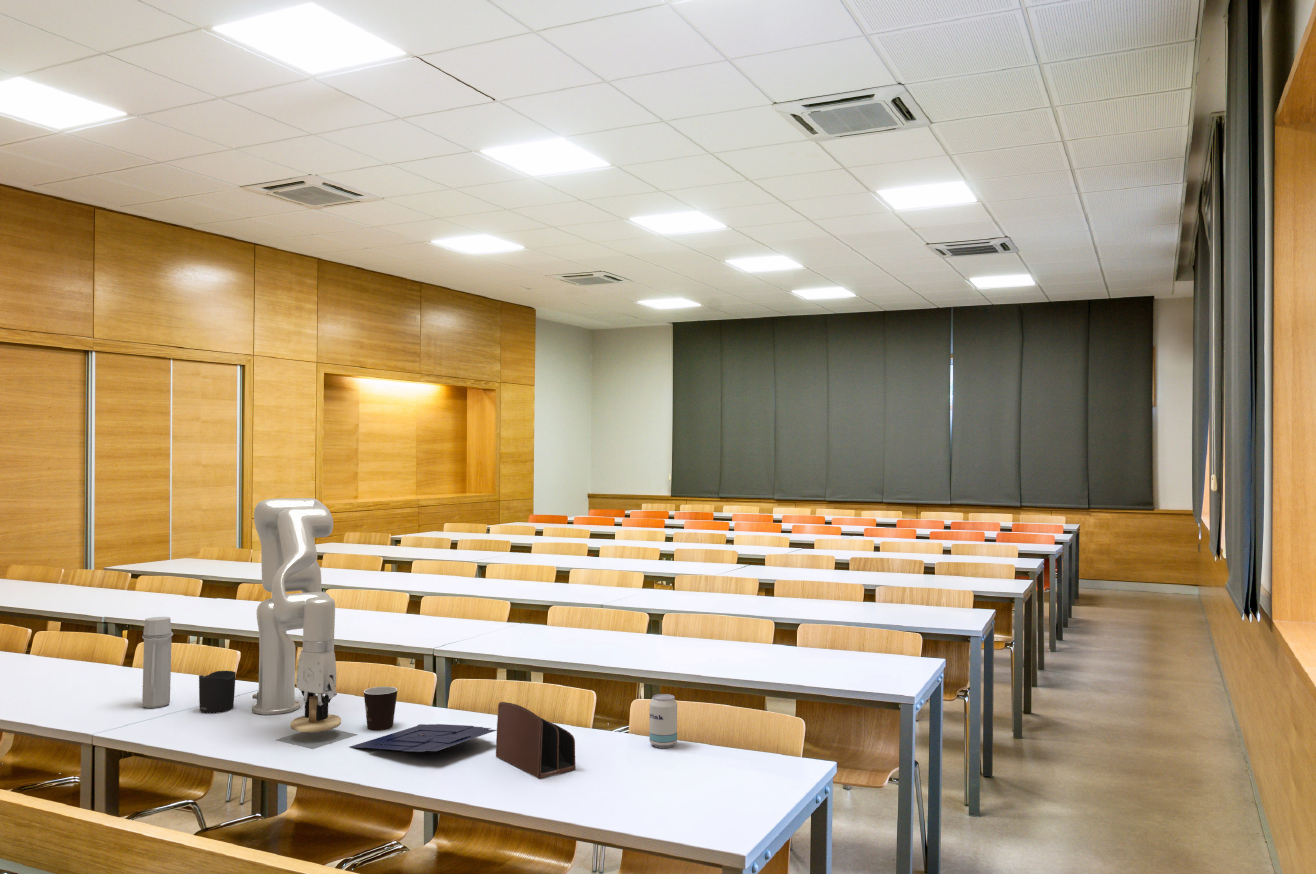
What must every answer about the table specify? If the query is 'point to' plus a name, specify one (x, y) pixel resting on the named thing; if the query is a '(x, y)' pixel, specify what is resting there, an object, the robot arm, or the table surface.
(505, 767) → the table surface
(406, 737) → the dark blue tray
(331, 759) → the table surface
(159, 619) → the water bottle
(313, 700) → the lid
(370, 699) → the coffee mug
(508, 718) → the letter holder
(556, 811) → the table surface
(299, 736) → the mat
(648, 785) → the table surface
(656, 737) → the beverage can
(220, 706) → the pen holder
